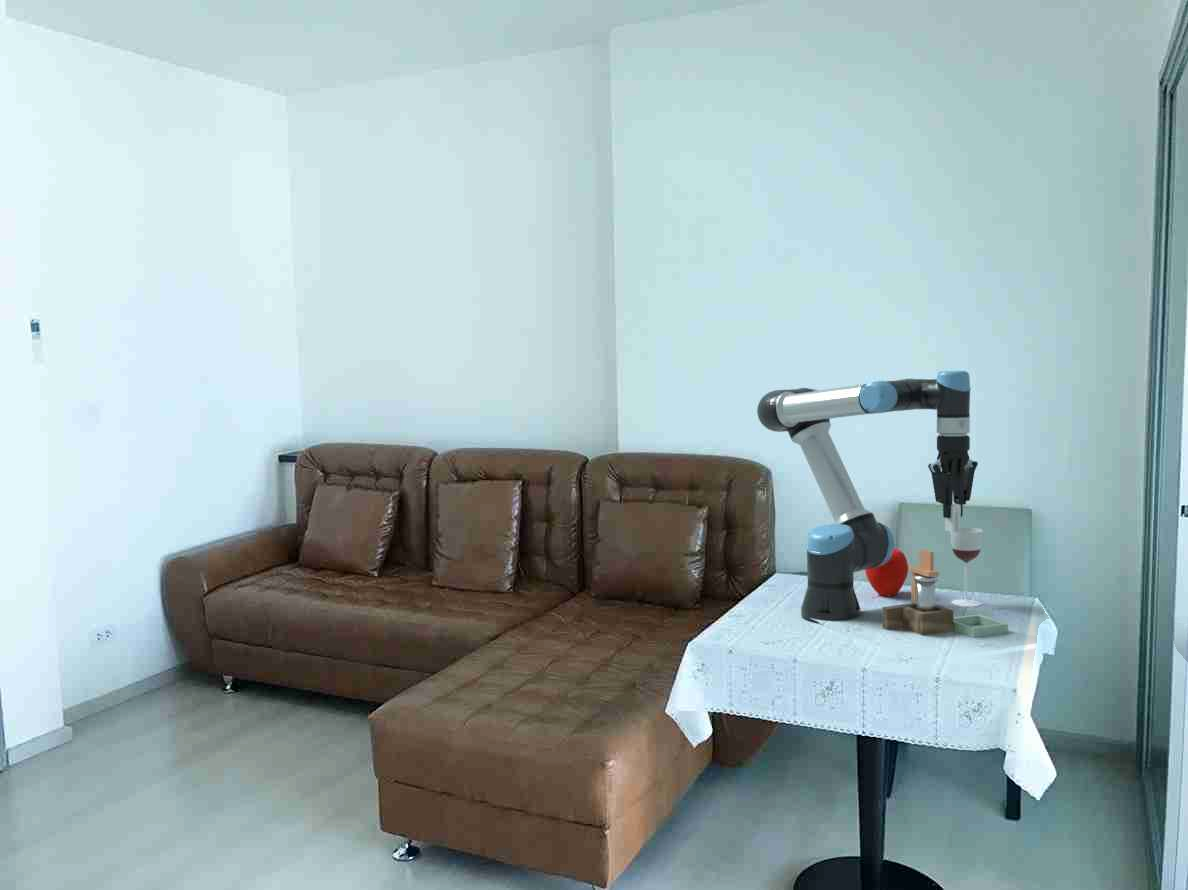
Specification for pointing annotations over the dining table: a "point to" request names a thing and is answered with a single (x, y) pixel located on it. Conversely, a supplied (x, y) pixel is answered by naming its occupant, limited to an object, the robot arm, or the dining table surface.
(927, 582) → the pin
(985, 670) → the dining table surface
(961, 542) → the wineglass
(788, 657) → the dining table surface
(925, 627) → the block
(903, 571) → the apple
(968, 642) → the dining table surface
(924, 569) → the keeper
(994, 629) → the dish
